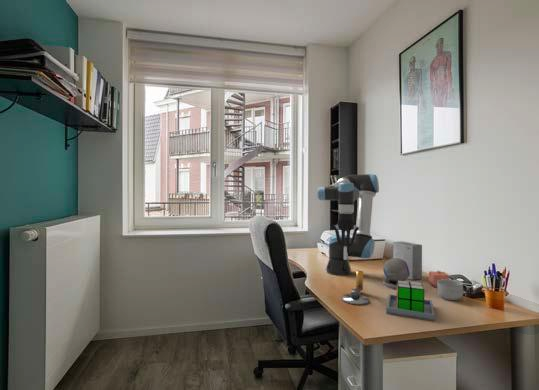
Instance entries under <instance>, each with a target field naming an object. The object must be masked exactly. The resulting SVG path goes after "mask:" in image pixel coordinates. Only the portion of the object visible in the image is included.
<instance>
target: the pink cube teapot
mask: <svg viewBox="0 0 539 390" xmlns="http://www.w3.org/2000/svg"><path fill="white" fill-rule="evenodd" d="M442 279H444V280H445V279H448V280H451V279H450V274H448V273H446V272H445V271H441V270H437V271H428V283H429V284H430V285H432V286H433V287H434V288H437V281H438V280H442ZM437 289H438V288H437Z"/></svg>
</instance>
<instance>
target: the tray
mask: <svg viewBox="0 0 539 390" xmlns="http://www.w3.org/2000/svg"><path fill="white" fill-rule="evenodd" d="M433 304H434V303H433V300H431V299H425V298H424V313H423V312H417V311H411V310H404V309H398V308H397V294H388V299H387V302H386V309H385V311H386V314H387V315H388V314H389V315H395V316H400V317H406V318H412V319H419V320H424V321H425V320H426V321H429V320H431V322H435V310H434V305H433Z"/></svg>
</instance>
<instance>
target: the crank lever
mask: <svg viewBox="0 0 539 390" xmlns="http://www.w3.org/2000/svg"><path fill="white" fill-rule="evenodd" d="M355 276H356V277H355V278H356V279H355V280H356V281H355V288H353V289H351V290H350V294H351V297H352V298H356V299H358V298H360V295H361V292H362V291H363V290H364V289H363V288H364V271H362V270H356V275H355Z"/></svg>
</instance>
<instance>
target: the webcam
mask: <svg viewBox="0 0 539 390" xmlns="http://www.w3.org/2000/svg"><path fill="white" fill-rule="evenodd" d="M383 274H384V276H385V277H386V279H384V280H383V281H382V282H383V286H384V287H385V288H389V289H392V290H397V281H398V280H399V281H407V279H408V277H409V269H408V266H407V264H406V262H405V261H404V260H402V259H400V258H393V257H392V258H390V259H388V260H386V261H385V262H384V265H383Z"/></svg>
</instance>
